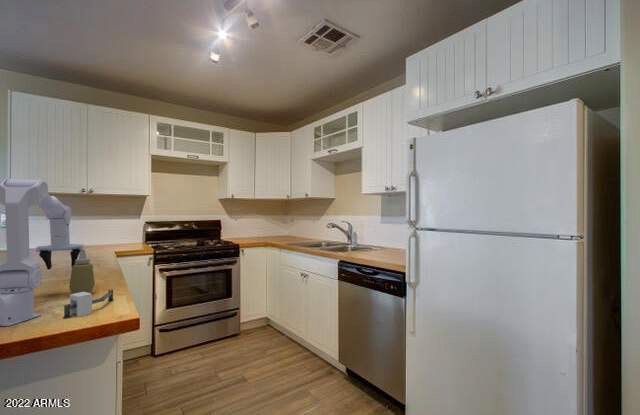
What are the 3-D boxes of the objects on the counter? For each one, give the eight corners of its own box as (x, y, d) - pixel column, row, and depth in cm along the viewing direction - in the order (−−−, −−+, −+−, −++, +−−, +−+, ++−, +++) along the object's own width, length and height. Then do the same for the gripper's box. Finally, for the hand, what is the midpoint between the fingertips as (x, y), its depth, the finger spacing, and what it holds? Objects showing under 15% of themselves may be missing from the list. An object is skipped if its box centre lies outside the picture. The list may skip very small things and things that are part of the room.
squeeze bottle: (98, 293, 124) (99, 249, 124) (76, 298, 117) (77, 251, 117) (87, 291, 128) (88, 248, 128) (64, 296, 120) (65, 250, 120)
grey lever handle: (73, 319, 95) (74, 306, 95) (57, 317, 96) (57, 305, 96) (124, 300, 115) (124, 290, 115) (110, 299, 116) (110, 289, 116)
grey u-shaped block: (77, 317, 97) (78, 296, 97) (69, 314, 99) (69, 294, 100) (91, 313, 101) (92, 293, 101) (83, 310, 103) (83, 291, 103)
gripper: (85, 232, 128) (86, 263, 129) (40, 233, 122) (42, 266, 123) (80, 236, 121) (81, 268, 123) (33, 237, 115) (35, 272, 117)
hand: (61, 268), depth 123 cm, fingers open, 7 cm apart
